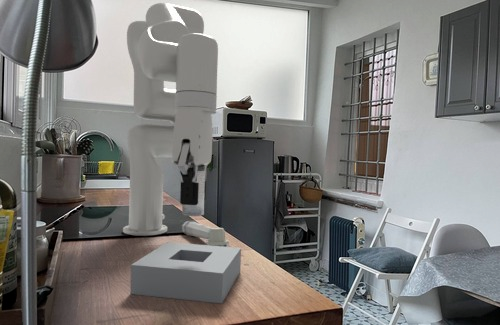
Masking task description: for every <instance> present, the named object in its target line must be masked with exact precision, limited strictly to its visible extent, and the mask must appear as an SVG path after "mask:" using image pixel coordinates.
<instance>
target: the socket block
mask: <svg viewBox="0 0 500 325" xmlns="http://www.w3.org/2000/svg"><path fill="white" fill-rule="evenodd" d="M241 262H242V248H241V247H235V246H227V247H222V246H210V245H207V244H197V243H196V244H195V243H185V242H184V243H182V242H171V241H168V242H164V243H163V244H162V245H160V246H159V247H157V248H156V249H154V250H153V251H150V252H149V253H148V254H146V255H145V256H144V255H143V257H141V258H140V259H138V260H137V261H135V262H133V263H132V264H130V295H138V296H147V297H156V298H165V299H166V298H167V299H175V300H186V301H193V302H194V301H195V302H204V303H212V304H214V303H215V304H223V303H224V301H225V299H226V297H227V295H228V294H229V292H230V291H231V289H232V287H233V285H234V284H235V281H236V280H237V278H238V277H239V274H240V273H241V264H242V263H241Z"/></svg>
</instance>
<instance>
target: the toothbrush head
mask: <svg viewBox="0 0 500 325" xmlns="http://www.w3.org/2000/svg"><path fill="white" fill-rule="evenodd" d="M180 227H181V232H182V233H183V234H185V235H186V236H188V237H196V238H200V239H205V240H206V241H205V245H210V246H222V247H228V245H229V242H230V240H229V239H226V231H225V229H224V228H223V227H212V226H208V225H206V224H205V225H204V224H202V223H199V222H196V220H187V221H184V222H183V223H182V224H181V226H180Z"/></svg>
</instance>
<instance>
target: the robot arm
mask: <svg viewBox="0 0 500 325" xmlns="http://www.w3.org/2000/svg"><path fill="white" fill-rule="evenodd" d="M204 21H205V20H204V18H203V17H202V14H201V13H200V12H199V11H198V10H196V9H194V8H189V7H185V6H180V5H175V4H171V3H164V2H163V3H162V2H158V3H154V4H153V5H151V6H150V7H149V8H148V9H147V11H146V14H145V20H135V21H132V22H130V24H129V25H128V27H127V31H126V46H127V51H128V54H129V58H130V61H131V64H132V67H133V68H132V69H133V111H134V114H135V116H136V117H137V118H139V119H143V120H148V121H149V120H150V121H160V122H161V121H162V122H170V124H171V125H167V124H166V125H163V124H151V123H149V124H147V123H140V124H135V125H134V126H132V127H131V128H130V129H129V130H128V133H127V144H128V153H129V154H128V155H129V197H128V199H129V203H128V204H129V206H128V210H129V211H128V225H125V226H123V227H122V232H123V233H124V234H125V235H131V236H143V237H147V236H148V237H149V236H157V235H162V234H165V233H166V232H168V226H167V225H165V224H163V220H164V219H165V218H166V215H165V214H164V213H163V211H164V210H163V209H164V208H163V206H164V205H163V204H164V202H163V201H164V171H163V168H162V167H161V165H160V163H158V161H157V160H156V159H155V158H171V162H172V164H174V165H176V166H178V170H179V174H180V178H179V181H180V191H179V192H180V196H179V202H180V205H181V206H182V205H197V204H198V191H199V183H196V182H197V174H198V166H205V189H204V202H206V200H207V199H206V198H207V171H208V165H209V164H210V163H211V161H212V157H213V156H212V155H213V120H212V119H213V116H212V115H215V114H217V98H218V96H217V93H218V92H217V90H218V64H219V63H218V61H219V60H218V59H219V57H218V56H219V45H218V43H217V40H216V39H215V38H214V37H212V36H210V35H207V34H204V31H205V22H204ZM165 82H170V83H175V89H171V88H170V89H169V88H165ZM191 169H193V173H192V170H191Z"/></svg>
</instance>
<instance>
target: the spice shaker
mask: <svg viewBox="0 0 500 325" xmlns="http://www.w3.org/2000/svg"><path fill="white" fill-rule="evenodd" d="M191 170H192V173H193V169H191ZM196 183H199V191H198V204H197V205H182V204H181V208H182V209H181V214H182V216H185V217H201V216H204V215H205V201H204V189H205V166H198V174H197V182H196Z"/></svg>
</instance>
